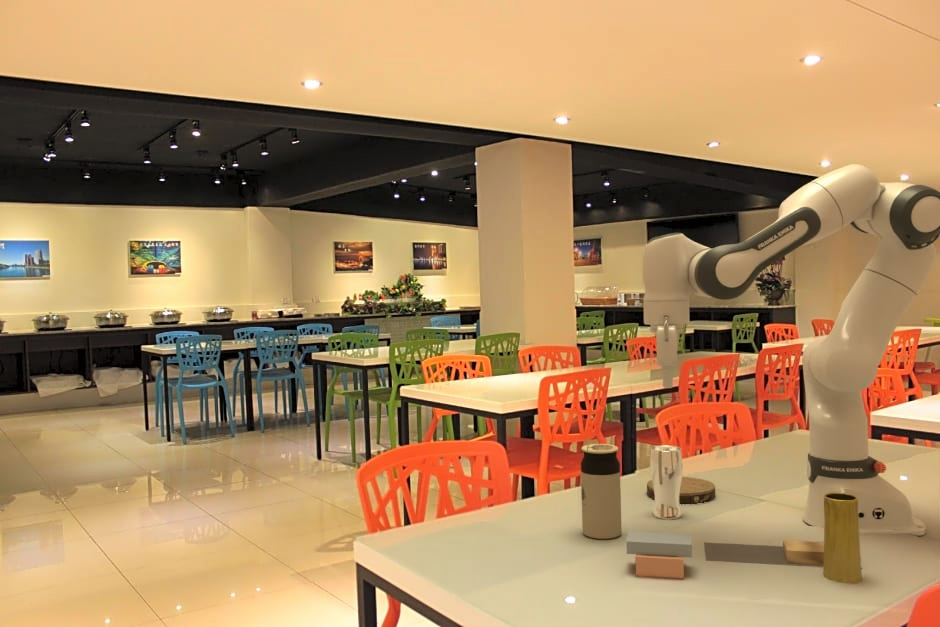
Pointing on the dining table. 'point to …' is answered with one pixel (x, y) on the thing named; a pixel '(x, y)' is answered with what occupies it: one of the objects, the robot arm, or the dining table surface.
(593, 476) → the travel mug
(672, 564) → the orange frame
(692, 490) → the wood slice coaster
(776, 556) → the mat
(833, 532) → the vase
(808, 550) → the oak board
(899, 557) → the dining table surface
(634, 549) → the slate board
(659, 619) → the dining table surface
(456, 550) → the dining table surface
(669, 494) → the beer glass
